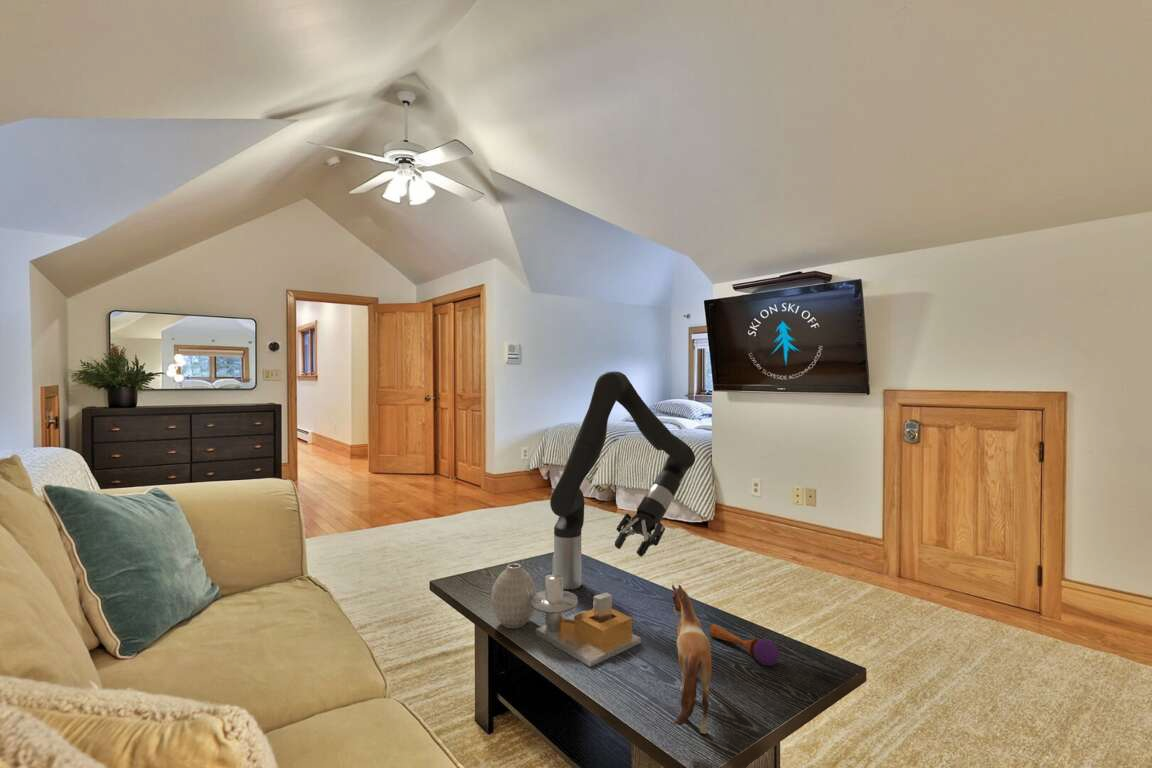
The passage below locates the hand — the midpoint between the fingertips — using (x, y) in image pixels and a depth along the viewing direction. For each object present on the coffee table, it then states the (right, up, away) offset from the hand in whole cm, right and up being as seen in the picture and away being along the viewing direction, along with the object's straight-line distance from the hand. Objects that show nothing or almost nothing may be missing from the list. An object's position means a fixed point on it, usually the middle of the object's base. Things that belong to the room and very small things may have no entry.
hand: (627, 551), depth 152 cm
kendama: (+29, -23, -12) cm, 38 cm away
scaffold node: (-13, -22, -5) cm, 26 cm away
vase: (-32, -22, +3) cm, 39 cm away
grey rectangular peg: (-7, -20, -5) cm, 22 cm away
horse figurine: (+7, -23, -35) cm, 42 cm away
